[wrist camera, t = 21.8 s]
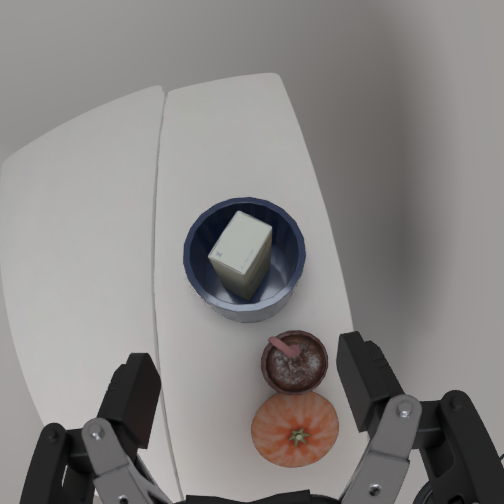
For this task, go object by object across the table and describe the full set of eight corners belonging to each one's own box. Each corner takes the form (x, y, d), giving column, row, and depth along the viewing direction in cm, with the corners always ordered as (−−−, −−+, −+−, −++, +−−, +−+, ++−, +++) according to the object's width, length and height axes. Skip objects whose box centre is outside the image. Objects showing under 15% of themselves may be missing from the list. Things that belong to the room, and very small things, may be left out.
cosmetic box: (249, 302, 38) (244, 278, 26) (222, 287, 39) (205, 257, 27) (271, 264, 40) (274, 226, 28) (244, 250, 41) (237, 209, 29)
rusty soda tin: (278, 328, 37) (286, 314, 24) (315, 355, 35) (343, 354, 22) (251, 363, 35) (244, 368, 22) (288, 390, 34) (302, 409, 20)
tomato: (287, 468, 29) (292, 492, 22) (236, 419, 32) (229, 435, 25) (345, 420, 31) (365, 434, 24) (296, 370, 35) (305, 374, 27)
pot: (273, 220, 43) (275, 183, 33) (310, 301, 38) (325, 282, 29) (190, 251, 41) (171, 220, 32) (219, 336, 37) (204, 330, 27)
